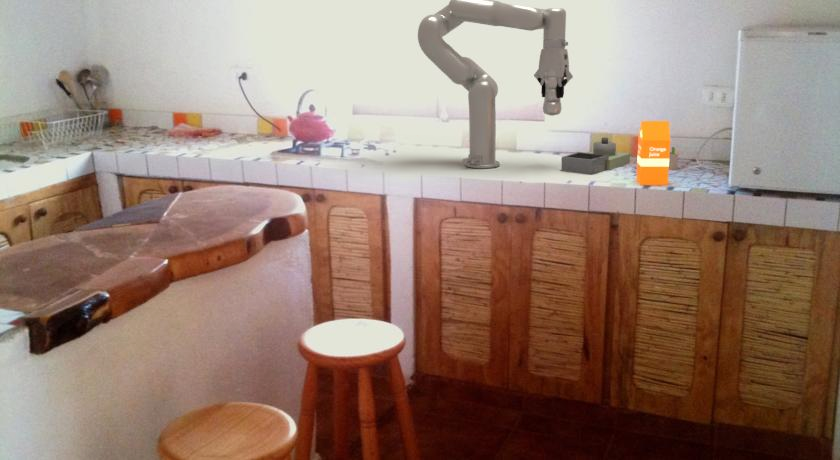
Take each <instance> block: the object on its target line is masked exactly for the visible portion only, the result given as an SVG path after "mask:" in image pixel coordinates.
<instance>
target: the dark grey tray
mask: <svg viewBox="0 0 840 460" xmlns="http://www.w3.org/2000/svg"><path fill="white" fill-rule="evenodd" d="M584 157H585V159H583V158H584ZM586 158H588V159H586ZM590 158H591V159H590ZM592 158H594V159H592ZM608 159H609V155H602V154H592V153H587V152H581V151H577V152H574V153H570V154H567V155H564V156H561V165H560V168H561V172H567V173H576V174H583V175H585V174H586V175H590V176H591V175H594V174H597V173H598V174H599V173H601V172H603V171H607V160H608Z"/></svg>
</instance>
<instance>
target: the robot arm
mask: <svg viewBox="0 0 840 460" xmlns="http://www.w3.org/2000/svg"><path fill="white" fill-rule="evenodd" d="M464 22H467V23H472V24H473V23H475V24H480V25H487V26H492V27H493V26H494V27H505V28H511V29H518V30H523V31H524V30H525V31H529V32H530V31H532V32H533V31H536V30H542V29H543V32H542V33H543V37H542V39H543V41H542V43H543V44H542V47H543V48H542V49H541V51H540V55H539V61H538V69H537V70H536V71H535V73H534V74H533V77H534V78H535V79H536V80H537V81H538V83H539V85H540V86H541V90H540V91H541V98H545V80H544V77H545V76H544V73H545V71H546V70H548V69H552V70H553V71H554V72H555V73H556V78H558V84H559V87H557V98H560V99H562V98H563V97H564V95H565V86H566V85H567V84H568V83H569V82H570V80H572V79H573V78H574V76H573V74H572V73H571V72H570V63H569V62H570V61H569V60H570V59H569V52H568V48H566V46H569V42H568V41H566V27H567V26H566V25H567V11H566V10H565V9H564V8H559V7H556V8H553V7H552V8H547V9H546V8H537V7H536V8H535V7H528V6H522V5H514V4H509V3H505V2H501V1H500V0H499V1H498V0H450V1H449V2H448V4H447V5H446V6H444V7H443V8H442V9H440V10H438V11H437V12H435V13H434V14H429V15H426V16H425V17H423V18H422V20H421V21H420V24H419V25H418V29H417V40H418V45H419V47H420V49H421V51H422V53H423V54H424V55H425V56H426V57H427V58H428V59H429V60H430V61H431V62H432V63H433V64H434V65H435V66H436V67H437V68H438V69H439V71H441V72H442V73H443V74H444V75H445V76H447V78H448V79H450V80H451V82H452V83H454V84H456V85H459V86H462V87H463V88H464V89H466V91H467V92H468V94H467V96H468V97H467V99H468V109H469V110H468V114H469V115H468V117H469V119H468V123H469V124H468V125H469V126H468V128H469V154H468V157H466V158H463V159H462V163H463V164H464V165H465V167H468V168H473V169H492V168H497V167H500V163H501V162H500V161H498V160H496V142H497V141H496V140H497V139H496V134H497V133H496V131H497V130H496V115H497V114H496V112H497V111H496V97H497V96H498V92H499V87H498V84H497V81H495V79H494V78H493V77H492V76H491V75H489V73H487V72H486V71H485V70H484V69H483V68H482V67H481V66H480V65H478V64H477V63H476V62H475V61H474V60H473V59H471V58H470V57H466V56H462V55H461V54H459V53H458V52H457V51H456V50H454V48H453V47H452V46H451V45H450V44H449V43H447V42H446V40H445V39H444V38H443V37H444V36H446V35H448V34H450V33H451V32H452V31H453V30H455V29H456V28H458V27H459V26H461V25H462V24H463V23H464Z"/></svg>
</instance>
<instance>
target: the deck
mask: <svg viewBox="0 0 840 460" xmlns="http://www.w3.org/2000/svg"><path fill="white" fill-rule="evenodd" d="M600 140H601V141H596V142H593V150H592V151H588V152H586V153H592V154H602V155H609V159H608V160H607V170H608V171H609V170H614V169H616V168H618V167H622V166H625V165H628V164H631V163H630V161H631V159H630V158H631V153H628V152H627V153H626V152H618V151H616V150H617V143H616V142H614V141H613V142H612V141H609V137H601V139H600ZM583 159H585V157H584V158H583ZM586 159H588V158H586ZM590 159H591V158H590ZM592 159H594V158H592ZM607 170H606V171H607Z"/></svg>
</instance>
